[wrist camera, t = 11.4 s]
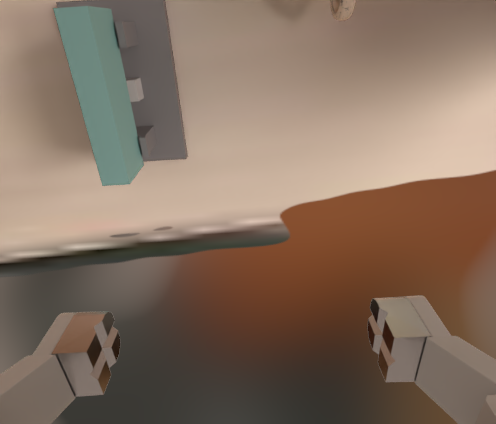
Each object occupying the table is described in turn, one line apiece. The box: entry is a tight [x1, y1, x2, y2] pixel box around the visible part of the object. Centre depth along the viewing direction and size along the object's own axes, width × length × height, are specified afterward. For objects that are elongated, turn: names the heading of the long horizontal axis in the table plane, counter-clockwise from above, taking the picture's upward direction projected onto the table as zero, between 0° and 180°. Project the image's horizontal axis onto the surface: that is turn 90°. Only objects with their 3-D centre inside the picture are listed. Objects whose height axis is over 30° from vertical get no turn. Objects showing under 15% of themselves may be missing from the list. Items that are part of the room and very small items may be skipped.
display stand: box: [57, 0, 188, 161], centre depth 35 cm, size 10×16×6 cm, turn 3°
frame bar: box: [53, 6, 144, 186], centre depth 31 cm, size 2×14×5 cm, turn 3°
